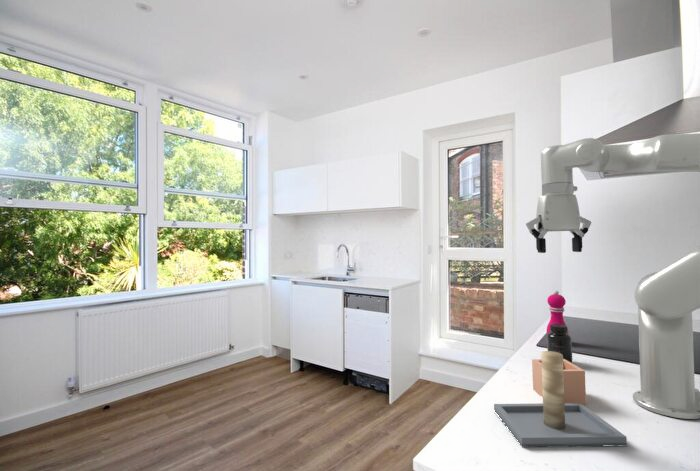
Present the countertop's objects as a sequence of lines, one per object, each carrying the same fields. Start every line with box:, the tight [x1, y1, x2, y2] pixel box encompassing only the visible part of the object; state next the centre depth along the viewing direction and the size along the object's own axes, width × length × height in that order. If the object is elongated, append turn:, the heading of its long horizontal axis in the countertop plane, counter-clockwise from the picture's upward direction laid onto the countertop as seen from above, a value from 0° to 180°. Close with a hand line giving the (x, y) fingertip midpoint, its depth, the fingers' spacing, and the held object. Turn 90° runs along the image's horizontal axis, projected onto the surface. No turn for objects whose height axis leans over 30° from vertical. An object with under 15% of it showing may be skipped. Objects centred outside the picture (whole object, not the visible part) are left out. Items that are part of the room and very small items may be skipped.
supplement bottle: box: [546, 324, 573, 364], centre depth 113 cm, size 7×7×12 cm
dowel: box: [540, 350, 565, 429], centre depth 75 cm, size 4×4×15 cm
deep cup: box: [531, 358, 587, 405], centre depth 89 cm, size 8×8×8 cm
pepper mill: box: [546, 290, 569, 334], centre depth 133 cm, size 7×7×20 cm
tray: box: [493, 402, 628, 448], centre depth 75 cm, size 20×14×2 cm
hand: (559, 252), depth 97 cm, fingers open, 9 cm apart
